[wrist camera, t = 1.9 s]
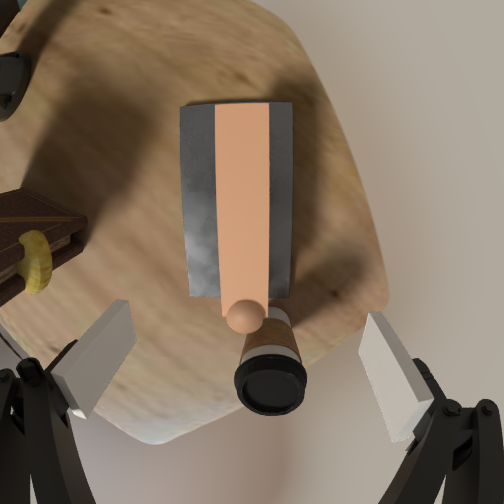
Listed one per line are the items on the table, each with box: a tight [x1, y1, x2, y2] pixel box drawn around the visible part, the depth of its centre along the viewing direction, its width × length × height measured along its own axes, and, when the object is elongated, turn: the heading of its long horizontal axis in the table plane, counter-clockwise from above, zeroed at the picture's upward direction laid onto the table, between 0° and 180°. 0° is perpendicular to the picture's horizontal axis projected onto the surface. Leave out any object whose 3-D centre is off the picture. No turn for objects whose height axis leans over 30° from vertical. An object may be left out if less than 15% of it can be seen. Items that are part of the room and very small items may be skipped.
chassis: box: [180, 102, 293, 298], centre depth 32 cm, size 26×14×7 cm, turn 0°
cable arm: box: [215, 103, 269, 334], centre depth 27 cm, size 24×5×3 cm, turn 0°
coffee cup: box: [234, 307, 307, 416], centre depth 33 cm, size 8×8×15 cm
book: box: [0, 188, 87, 307], centre depth 25 cm, size 22×8×25 cm, turn 68°
